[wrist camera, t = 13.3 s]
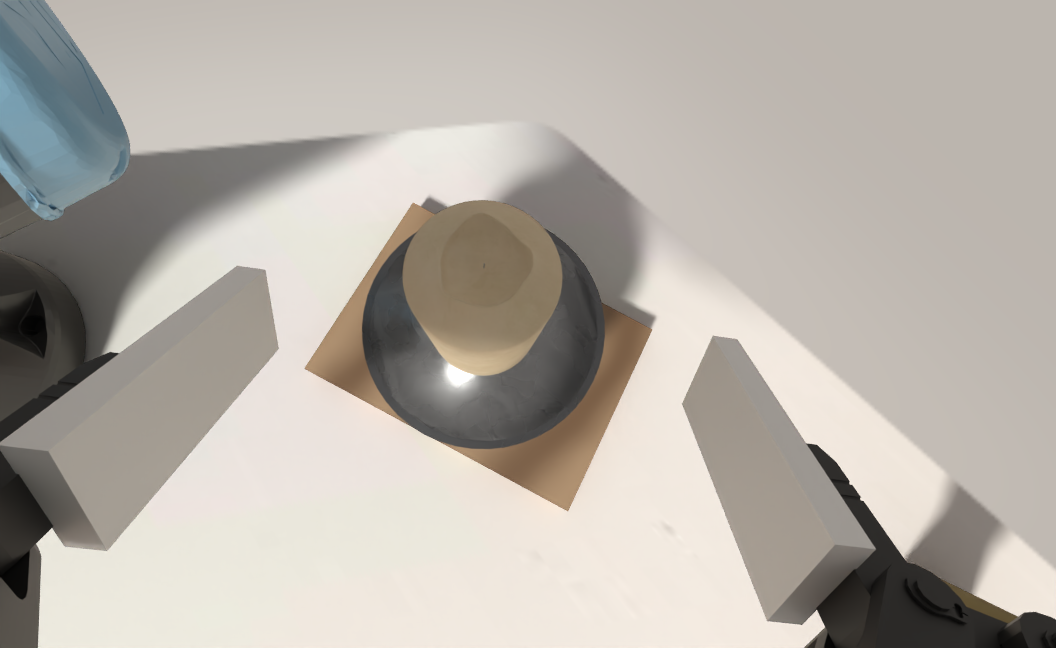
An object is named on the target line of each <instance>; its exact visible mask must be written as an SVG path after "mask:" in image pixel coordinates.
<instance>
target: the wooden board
mask: <svg viewBox="0 0 1056 648" xmlns="http://www.w3.org/2000/svg"><path fill="white" fill-rule="evenodd" d="M434 215H435V214H434V213H432V212H430V211H428V210H426V209H424V208H422V207H420V206H418V205H417V204H415V203H413V204H412V205H411V207H410V208H409V210H408V211H407V213H406V214H405V216H404V217H403V219H402V220H401V222H400V223H399V225H398V226H397V228H396V230H395V231H394V233H393V234H392V236H391V237H390V239H389V240H388V242H387V243H386V245H385V246H384V248H383V249H382V251H381V252H380V254H379V255H378V257H377V259H376V260H375V262H374V263H373V265H372V266H371V268H370V269H369V271H368V272H367V274H366V275H365V277H364V278H363V280H362V281H361V283H360V284H359V286H358V288H357V289H356V291H355V292H354V294H353V295H352V297H351V298H350V300H349V301H348V303H347V304H346V306H345V307H344V309H343V310H342V312H341V313H340V315H339V317H338V318H337V320H336V321H335V323H334V324H333V326H332V327H331V329H330V330H329V332H328V333H327V335H326V336H325V338H324V339H323V341H322V342H321V344H320V346H319V347H318V349H317V350H316V352H315V353H314V355H313V356H312V358H311V359H310V361H309V362H308V364H307V365H306V367H305V368H304V369H306V370H308V371H310V372H312V373H313V374H315V375H317V376H319V377H321V378H323V379H325V380H326V381H328V382H330V383H332V384H334V385H336V386H338V387H339V388H341V389H343V390H345V391H347V392H349V393H350V394H352V395H354V396H356V397H358V398H360V399H362V400H363V401H365V402H367V403H369V404H371V405H373V406H374V407H376V408H378V409H380V410H382V411H384V412H386V413H387V414H389V415H391V416H393V417H395V418H397V419H398V420H400V421H402V422H404V423H406V424H408V423H407V422H405V421H404V420H403V419H402V418H401V417H400V416H398V415H397V414H396V413H395V411H394V410H393V409H392V408H391V407H390V406H389V405H388V404H387V402H386V401H385V400H384V398H383V397H382V395H381V394H380V392H379V391H378V389H377V387H376V385H375V383H374V381H373V379H372V377H371V375H370V372H369V369H368V366H367V363H366V360H365V355H364V349H363V343H362V321H363V311H364V307H365V303H366V299H367V295H368V293H369V290H370V288H371V285H372V283H373V280H374V279H375V277H376V275H377V273H378V271H379V270H380V268H381V266H382V265H383V264H384V262H385V261H386V260H387V258H388V257H389V256H390V255H391V254H392V252H393V251H394V250H395V249H396V248H397V247H398V246H399V245H400V244H401V243H403V242H404V241H405V240H406V239H408V238H409V237H410V236H411V235H413V234H414V233H416V232H418V230H419V229H420V228H421V227H422V226H423V225H424V224H425V223H426V222H427V221H428V220H429V219H430V218H431V217H433V216H434ZM602 307H603V314H604V321H605V340H604V348H603V354H602V358H601V362H600V366H599V369H598V371H597V374H596V376H595V378H594V381H593V383H592V385H591V386H590V388H589V390H588V392H587V393H586V395H585V396H584V398H583V399H582V400H581V402H580V403H579V404H578V406H577V407H576V408H575V409H574V410H573V411H572V412H571V413H570V414H569V415H568V416H567V417H566V418H565V419H564V420H563V421H561V422H560V423H559V424H557V425H556V426H555V427H553V428H552V429H550V430H549V431H547V432H545V433H543V434H542V435H540V436H538V437H536V438H534V439H531V440H529V441H526V442H524V443H521V444H517V445H513V446H509V447H504V448H495V449H470V448H464V447H457V446H453V445H450V444H447V443H443V442H441V443H443V444H445V445H446V446H448V447H450V448H452V449H454V450H456V451H458V452H459V453H461V454H463V455H465V456H467V457H469V458H470V459H472V460H474V461H476V462H478V463H480V464H482V465H483V466H485V467H487V468H489V469H491V470H493V471H494V472H496V473H498V474H500V475H502V476H504V477H506V478H507V479H509V480H511V481H513V482H515V483H517V484H518V485H520V486H522V487H524V488H526V489H528V490H530V491H531V492H533V493H535V494H537V495H539V496H541V497H542V498H544V499H546V500H548V501H550V502H552V503H554V504H555V505H557V506H559V507H561V508H563V509H565V510H567V511H568V510H569V508H570V506H571V504H572V502H573V499H574V497H575V495H576V493H577V491H578V489H579V487H580V484H581V482H582V480H583V478H584V476H585V474H586V471H587V469H588V467H589V465H590V463H591V461H592V458H593V456H594V454H595V452H596V450H597V448H598V446H599V443H600V441H601V439H602V437H603V435H604V433H605V430H606V428H607V426H608V424H609V422H610V420H611V418H612V415H613V413H614V411H615V409H616V407H617V405H618V402H619V400H620V398H621V396H622V394H623V392H624V390H625V387H626V385H627V383H628V381H629V379H630V377H631V374H632V372H633V370H634V368H635V366H636V364H637V361H638V359H639V357H640V355H641V353H642V351H643V349H644V346H645V344H646V342H647V340H648V338H649V336H650V333H651V331H652V329H650V328H648V327H646V326H644V325H643V324H641V323H639V322H637V321H635V320H633V319H631V318H629V317H628V316H626V315H624V314H622V313H620V312H618V311H616V310H614V309H612V308H611V307H609V306H607V305H605V304H603V303H602ZM408 425H409V424H408ZM411 427H412V426H411ZM437 441H438V440H437ZM439 442H440V441H439Z"/></svg>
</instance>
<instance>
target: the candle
mask: <svg viewBox="0 0 1056 648" xmlns="http://www.w3.org/2000/svg"><path fill="white" fill-rule="evenodd" d="M402 273H403V287H404V293H405V296H406V299H407V302H408V304H409V307H410V309H411V311H412V313H413V314H414V316H415V317H416V319H417V320H418V322H419V323H420V325H421V326H422V328H423V329H424V331H425V332H426V334H427V335H428V337H429V338H430V340H431V341H432V343H433V344H434V346H435V347H436V349H437V350H438V352H439V353H440V354H441V356H442V357H443V358H444V359H445V360H446V361H447V362H448V363H449V364H451V365H452V366H453V367H455V368H456V369H458V370H460V371H463V372H465V373H468V374H473V375H480V376H487V375H494V374H499V373H501V372H504V371H506V370H508V369H510V368H512V367H513V366H515V365H516V364H517V363H519V362H520V361H521V360H522V359H523V358H524V356H525V355H526V354H527V353H528V351H529V350H530V348H531V347H532V345H533V344H534V342H535V341H536V339H537V337H538V336H539V334H540V333H541V331H542V330H543V328H544V326H545V325H546V323H547V322H548V320H549V319H550V317H551V315H552V314H553V312H554V310H555V308H556V306H557V304H558V300H559V297H560V294H561V288H562V265H561V261H560V257H559V254H558V251H557V249H556V246H555V244H554V242H553V241H552V239H551V237H550V236H549V234H548V233H547V232H546V230H545V229H544V228H543V227H542V226H541V225H540V224H539V223H538V222H537V221H536V220H535V219H534V218H532V217H531V216H530V215H528V214H527V213H525V212H523V211H522V210H520V209H518V208H515V207H513V206H510V205H507V204H505V203H500V202H495V201H486V200H478V201H468V202H463V203H459V204H456V205H453V206H450V207H448V208H446V209H444V210H442V211H440V212H439V213H437V214H435V215H434V216H433V217H431V218H430V219H429V220H428V221H427V222H426V223H425V224H424V225H423V226H422V227H421V228H420V229H419V230H418V232H417V233H416V234H415V236H414V237H413V239H412V241H411V242H410V245H409V247H408V249H407V252H406V255H405V259H404V264H403V272H402Z"/></svg>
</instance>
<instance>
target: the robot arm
mask: <svg viewBox="0 0 1056 648" xmlns="http://www.w3.org/2000/svg"><path fill="white" fill-rule="evenodd" d="M129 161H130V143H129V139H128V135H127V132H126V129H125V127H124V125H123V122H122V120H121V118H120V116H119V114H118V112H117V110H116V108H115V106H114V104H113V102H112V101H111V99H110V97H109V95H108V93H107V92H106V90H105V89H104V87H103V85H102V84H101V82H100V80H99V79H98V77H97V75H96V74H95V72H94V71H93V69H92V68H91V66H90V65H89V63H88V62H87V60H86V58H85V57H84V55H83V54H82V52H81V51H80V49H79V48H78V47H77V45H76V44H75V42H74V41H73V39H72V38H71V36H70V35H69V34H68V32H67V31H66V29H65V28H64V27H63V25H62V24H61V22H60V21H59V19H58V18H57V17H56V15H55V14H54V13H53V11H52V10H51V9H50V7H49V6H48V4H47V3H46V2H45V0H0V238H3V237H5V236H7V235H9V234H11V233H13V232H15V231H17V230H19V229H21V228H24V227H26V226H28V225H30V224H32V223H34V222H36V221H38V220H40V219H42V218H43V219H44V220H49V221H52V220H55V219H57V218H59V217H60V216H62V215H63V213H64V209H65V208H66V207H68V206H70V205H72V204H74V203H76V202H78V201H79V200H81V199H83V198H85V197H87V196H89V195H91V194H93V193H95V192H96V191H98V190H100V189H102V188H104V187H106V186H108V185H110V184H111V183H113V182H114V181H116V180H117V179H118V178H120V177H121V176H122V175H123V173H124V172H125V171H126V169H127V167H128V164H129ZM278 349H279V348H278V342H277V336H276V330H275V325H274V319H273V313H272V307H271V301H270V295H269V289H268V283H267V277H266V271H265V270H262V269H255V268H248V267H242V266H237V267H235V268H234V269H232V270H231V271H230V272H228V273H227V274H226V275H224V276H223V277H222V278H220V279H219V280H218V281H216V282H215V283H214V284H212V285H211V286H210V287H208V288H207V289H206V290H204V291H203V292H202V293H200V294H199V295H198V296H196V297H195V298H193V299H192V300H191V301H189V302H188V303H187V304H185V305H184V306H183V307H181V308H180V309H179V310H177V311H176V312H175V313H173V314H172V315H171V316H169V317H168V318H167V319H165V320H164V321H163V322H161V323H160V324H158V325H157V326H156V327H154V328H153V329H152V330H150V331H149V332H148V333H146V334H145V335H144V336H142V337H141V338H140V339H138V340H137V341H136V342H134V343H133V344H132V345H130V346H129V347H128V348H126V349H125V350H124V351H122V352H121V353H113V352H109V353H107V354H105V355H103V356H100V357H98V358H96V359H93V360H91V361H89V362H86V363H84V364H83V360H84V353H85V330H84V324H83V319H82V316H81V313H80V310H79V307H78V305H77V303H76V301H75V299H74V297H73V296H72V294H71V293H70V291H69V290H68V289H67V287H66V286H65V285H64V284H63V283H62V282H61V281H60V280H59V279H58V278H57V277H56V276H55V275H53V274H52V273H51V272H49V271H48V270H46V269H45V268H43V267H41V266H40V265H38V264H36V263H34V262H31V261H29V260H26V259H24V258H21V257H18V256H15V255H12V254H9V253H7V252H4V251H1V250H0V648H38V627H39V601H40V575H41V554H40V551H39V549H38V547H37V545H36V543H37V542H38V541H39V540H40V539H41V538H42V537H43V536H44V535H45V534H46V533H47V532H48V531H49V530H50V529H51V528H53V530H54V531H55V533H56V534H57V536H58V537H59V539H60V540H61V542H62V543H63V545H64V546H66V547H75V548H85V549H94V550H104V551H107V550H108V549H109V548H110V547H111V546H112V545H113V543H114V542H115V541H116V540H117V539H118V537H119V536H120V535H121V534H122V533H123V532H124V530H125V529H126V528H127V527H128V526H129V524H130V523H131V522H132V521H133V520H134V519H135V517H136V516H137V515H138V514H139V513H140V512H141V510H142V509H143V508H144V507H145V506H146V504H147V503H148V502H149V501H150V500H151V499H152V497H153V496H154V495H155V494H156V493H157V492H158V490H159V489H160V488H161V487H162V486H163V484H164V483H165V482H166V481H167V480H168V479H169V477H170V476H171V475H172V474H173V473H174V471H175V470H176V469H177V468H178V467H179V466H180V464H181V463H182V462H183V461H184V460H185V459H186V457H187V456H188V455H189V454H190V453H191V451H192V450H193V449H194V448H195V447H196V446H197V444H198V443H199V442H200V441H201V440H202V438H203V437H204V436H205V435H206V434H207V433H208V431H209V430H210V429H211V428H212V427H213V426H214V424H215V423H216V422H217V421H218V420H219V418H220V417H221V416H222V415H223V414H224V413H225V411H226V410H227V409H228V408H229V407H230V405H231V404H232V403H233V402H234V401H235V400H236V398H237V397H238V396H239V395H240V394H241V393H242V391H243V390H244V389H245V388H246V387H247V385H248V384H249V383H250V382H251V381H252V380H253V378H254V377H255V376H256V375H257V374H258V373H259V371H260V370H261V369H262V368H263V367H264V365H265V364H266V363H267V362H268V361H269V360H270V358H271V357H272V356H273V355H274V354H275V352H276V351H277V350H278ZM682 405H683V407H684V410H685V412H686V415H687V418H688V420H689V423H690V425H691V428H692V430H693V433H694V435H695V438H696V441H697V443H698V446H699V448H700V451H701V453H702V456H703V458H704V461H705V464H706V466H707V469H708V471H709V474H710V476H711V479H712V481H713V484H714V487H715V489H716V492H717V494H718V497H719V499H720V502H721V504H722V507H723V509H724V512H725V515H726V517H727V520H728V522H729V525H730V527H731V530H732V532H733V535H734V538H735V540H736V543H737V545H738V548H739V550H740V553H741V555H742V558H743V561H744V563H745V566H746V568H747V571H748V573H749V576H750V578H751V581H752V584H753V586H754V589H755V591H756V594H757V596H758V599H759V601H760V604H761V607H762V609H763V612H764V614H765V617H766V619H767V621H772V622H781V623H791V624H800V625H802V624H803V623H804V622H805V621H806V620H807V619H808V618H809V617H810V616H811V615H812V614H813V613H814V612H815V611H816V610H817V611H818V613H819V615H820V617H821V619H822V621H823V623H824V625H825V628H824V629H823V630H822V631H821V632H820V633H819V634H818V635H817V636H816V637H815V638H814V639H813V640H812V641H811V642H810V643H808V644H807V645H806V646H805V647H804V648H1056V620H1055V619H1053V618H1052V617H1049V616H1046V615H1043V614H1040V613H1037V612H1027V613H1023V614H1022V615H1020V616H1019V617H1017V618H1016V619H1014V620H1013V621H1011V622H1010V623H1006V622H1003V621H1001V620H998V619H996V618H993V617H991V616H988V615H986V614H983V613H981V612H979V611H976V610H974V609H971V608H969V607H966V605H965V604H964V602H963V601H962V599H961V598H960V597H959V596H958V595H957V594H956V593H955V592H954V591H953V590H952V589H951V588H950V587H949V586H948V585H947V584H946V583H945V582H943V581H942V580H941V579H939V578H938V577H937V576H935V575H934V574H932V573H931V572H929V571H927V570H925V569H923V568H921V567H919V566H917V565H915V564H911V563H907V562H906V561H905V559H904V558H903V557H902V555H901V554H900V552H899V551H898V550H897V548H896V547H895V545H894V544H893V542H892V541H891V540H890V538H889V537H888V535H887V534H886V532H885V531H884V530H883V528H882V527H881V525H880V524H879V522H878V521H877V520H876V518H875V517H874V515H873V514H872V513H871V511H870V510H869V508H868V507H867V505H866V504H865V503H864V501H861V500H860V495H859V494H858V493H857V491H856V490H855V488H854V487H853V485H850V484H849V482H850V481H849V480H848V478H847V477H846V476H845V474H844V473H843V471H842V470H841V468H840V467H839V466H838V464H837V463H836V462H835V461H834V460H833V459H832V458H831V457H830V456H829V455H828V454H826V453H825V452H824V451H823V450H822V449H821V448H820V447H819V446H818V445H814V444H806V443H805V441H804V440H803V438H802V437H801V435H800V433H799V432H798V430H797V429H796V427H795V426H794V424H793V423H792V421H791V420H790V418H789V417H788V415H787V414H786V412H785V411H784V409H783V408H782V406H781V405H780V403H779V402H778V400H777V399H776V397H775V396H774V394H773V393H772V391H771V390H770V388H769V387H768V385H767V384H766V382H765V381H764V379H763V378H762V376H761V374H760V373H759V371H758V370H757V368H756V367H755V365H754V364H753V362H752V361H751V359H750V358H749V356H748V355H747V353H746V352H745V350H744V349H743V347H742V346H741V344H740V343H739V341H738V340H737V339H731V338H724V337H717V336H713V337H712V339H711V341H710V343H709V346H708V348H707V350H706V352H705V354H704V357H703V359H702V361H701V363H700V366H699V368H698V370H697V372H696V374H695V377H694V379H693V381H692V383H691V385H690V388H689V390H688V392H687V394H686V397H685V399H684V401H683V403H682Z"/></svg>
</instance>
